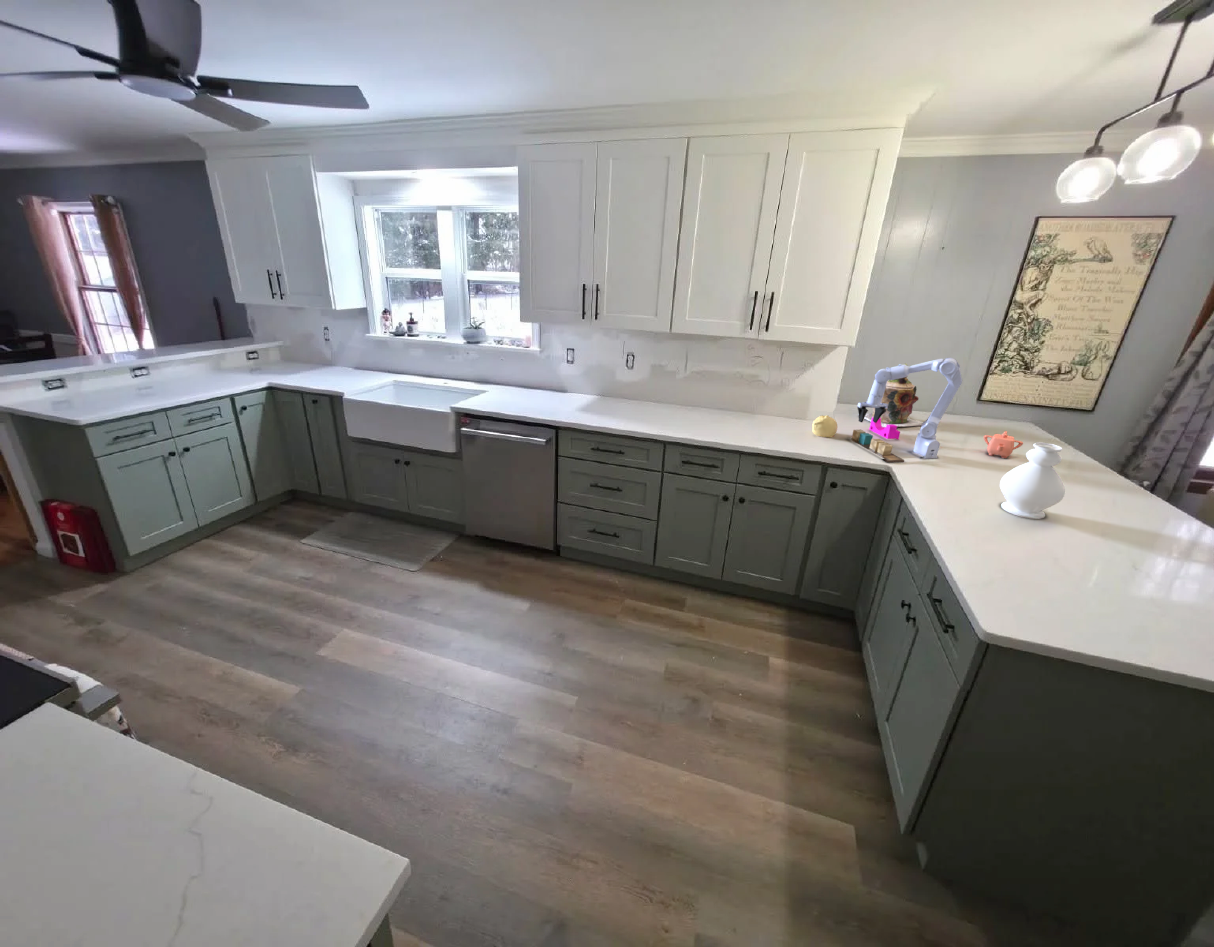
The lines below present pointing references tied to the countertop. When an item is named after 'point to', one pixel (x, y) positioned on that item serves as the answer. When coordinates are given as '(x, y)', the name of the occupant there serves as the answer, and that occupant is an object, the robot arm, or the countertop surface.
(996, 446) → the teapot
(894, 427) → the toy block
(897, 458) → the board
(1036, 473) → the decorative vase
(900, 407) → the cookie jar
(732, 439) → the countertop surface
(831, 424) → the pale yellow lumpy ball
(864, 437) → the teal cube
